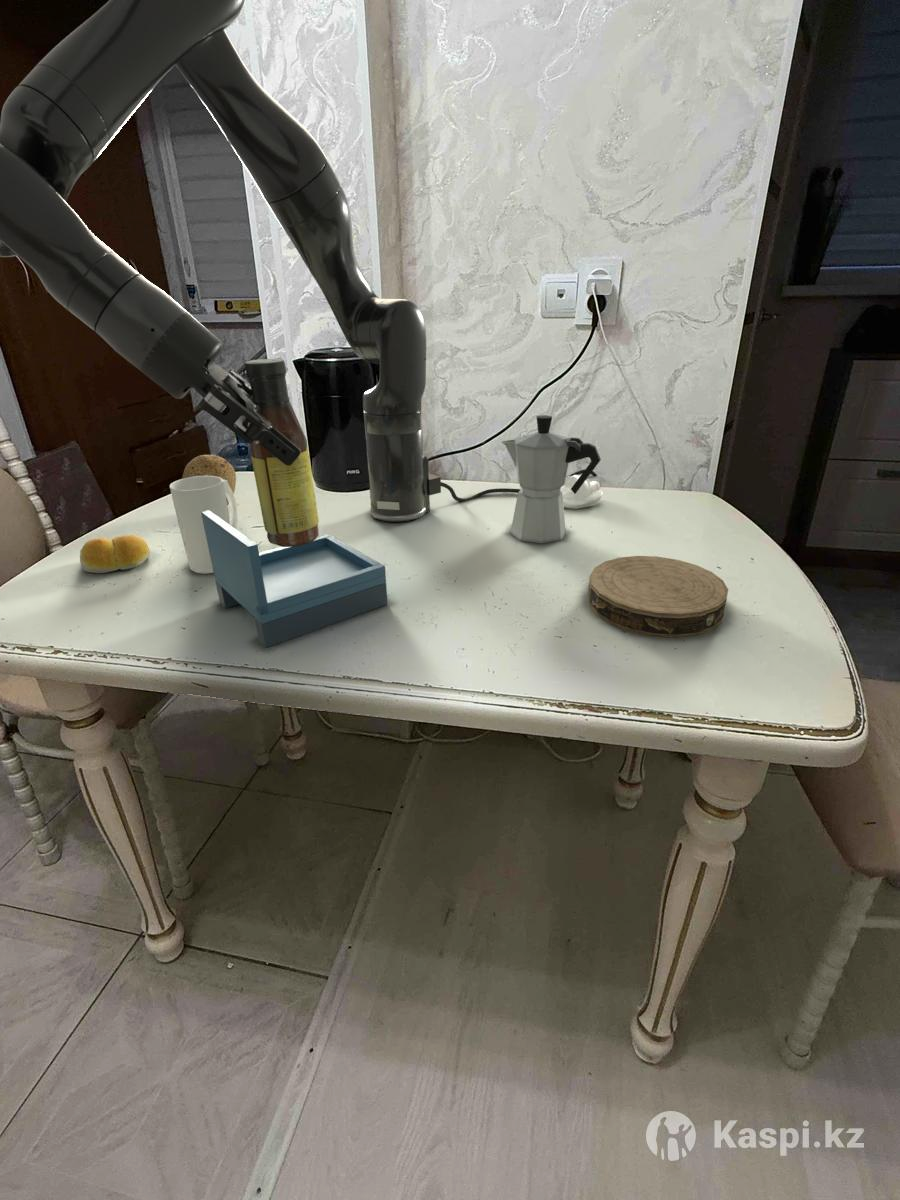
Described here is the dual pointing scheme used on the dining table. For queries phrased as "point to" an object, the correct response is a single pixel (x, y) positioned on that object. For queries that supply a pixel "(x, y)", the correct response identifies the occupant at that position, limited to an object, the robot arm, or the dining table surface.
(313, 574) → the shelf
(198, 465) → the natural sponge
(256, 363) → the sauce bottle
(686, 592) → the wood log slice
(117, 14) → the robot arm
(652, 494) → the dining table surface
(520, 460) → the coffee maker
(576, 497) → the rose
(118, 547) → the bread roll
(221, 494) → the mug
